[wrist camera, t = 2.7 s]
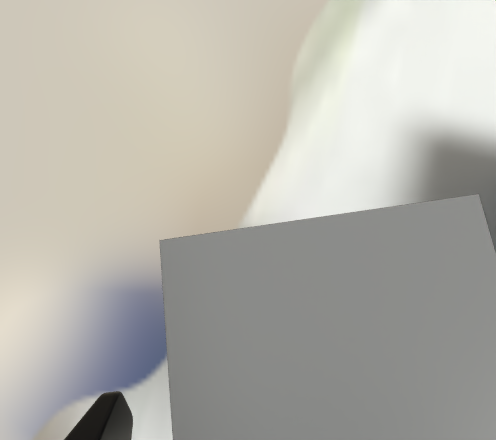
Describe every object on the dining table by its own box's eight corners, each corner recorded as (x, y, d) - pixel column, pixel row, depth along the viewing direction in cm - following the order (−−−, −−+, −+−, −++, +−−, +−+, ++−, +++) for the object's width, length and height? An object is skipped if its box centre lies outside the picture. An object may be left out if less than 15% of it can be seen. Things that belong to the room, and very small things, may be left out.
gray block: (363, 391, 16) (591, 583, 4) (264, 403, 17) (184, 618, 4) (345, 291, 18) (478, 193, 5) (252, 303, 18) (159, 240, 5)
